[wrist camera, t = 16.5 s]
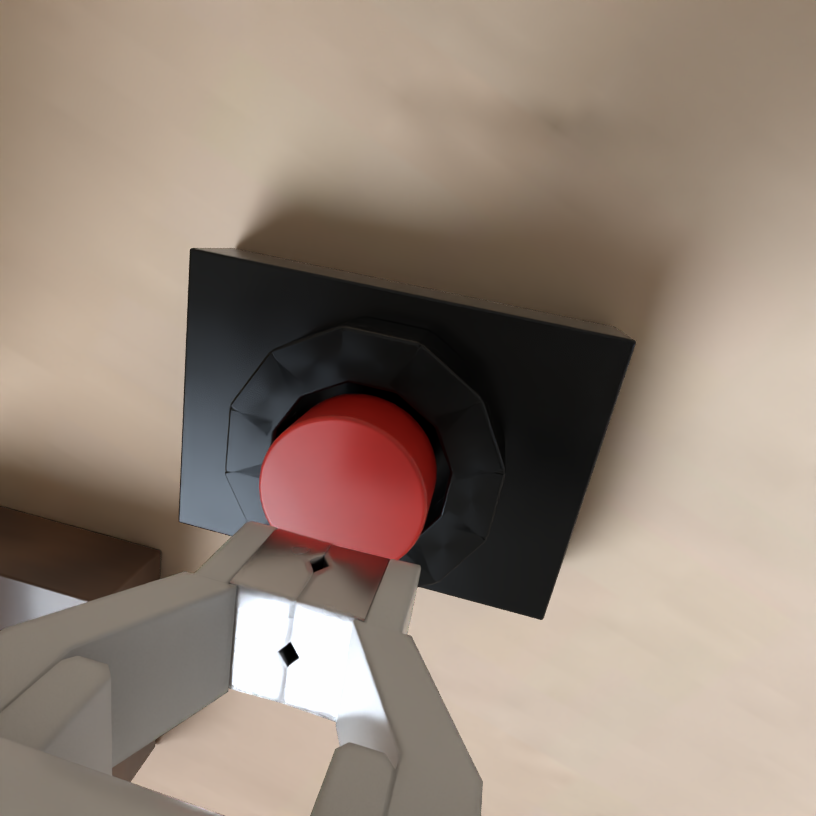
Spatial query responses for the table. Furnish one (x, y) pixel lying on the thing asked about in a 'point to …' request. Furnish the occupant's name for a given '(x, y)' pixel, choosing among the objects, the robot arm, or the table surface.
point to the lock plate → (67, 577)
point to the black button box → (403, 407)
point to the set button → (351, 476)
